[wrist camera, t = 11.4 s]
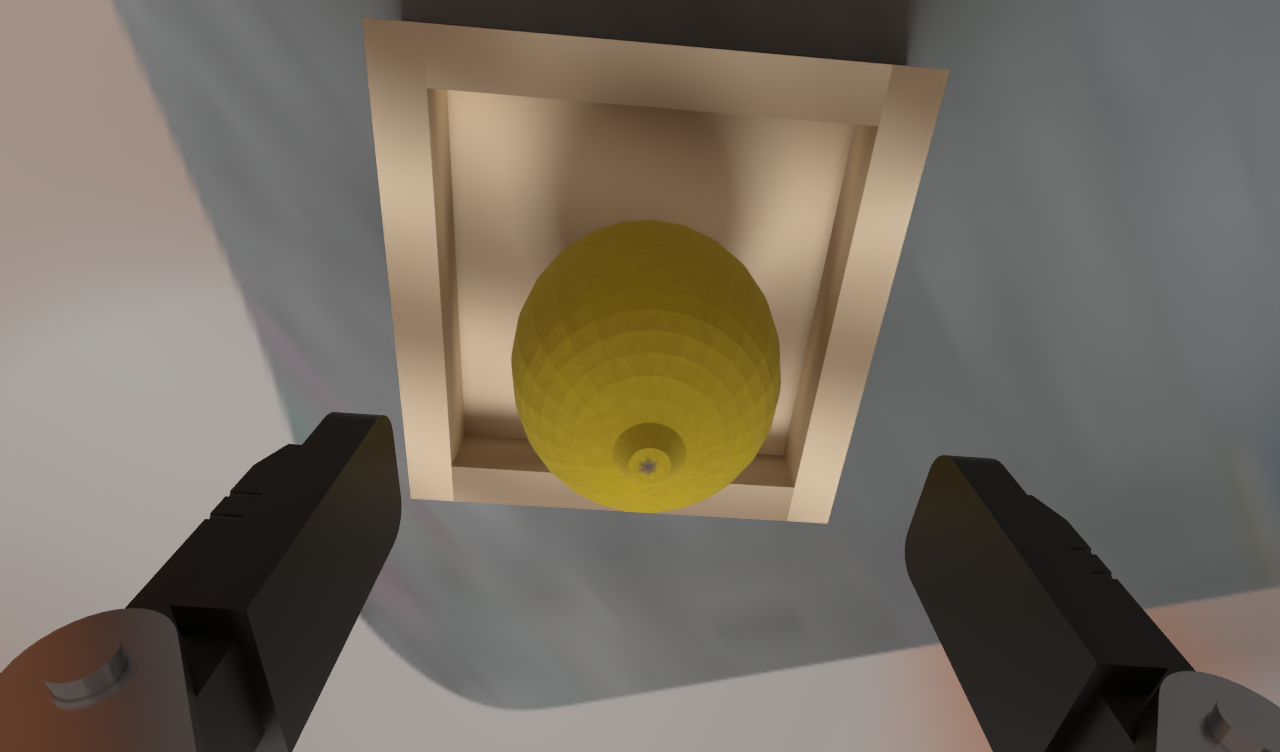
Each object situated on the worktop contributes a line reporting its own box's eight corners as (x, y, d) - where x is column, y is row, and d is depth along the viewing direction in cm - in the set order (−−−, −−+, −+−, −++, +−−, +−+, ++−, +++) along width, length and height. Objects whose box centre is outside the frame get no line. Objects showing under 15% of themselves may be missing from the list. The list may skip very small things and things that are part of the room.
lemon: (669, 139, 16) (699, 225, 8) (785, 313, 18) (887, 499, 11) (495, 270, 17) (396, 436, 10) (621, 416, 19) (614, 640, 12)
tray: (400, 20, 15) (361, 17, 13) (907, 65, 16) (950, 70, 13) (434, 451, 21) (410, 498, 18) (808, 474, 21) (827, 523, 19)
